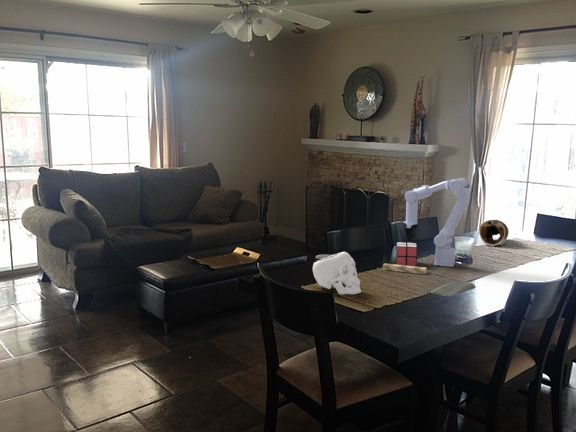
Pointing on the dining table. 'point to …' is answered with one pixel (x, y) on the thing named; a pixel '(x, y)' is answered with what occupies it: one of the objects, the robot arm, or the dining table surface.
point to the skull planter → (337, 273)
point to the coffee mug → (321, 257)
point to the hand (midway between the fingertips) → (410, 239)
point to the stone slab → (453, 288)
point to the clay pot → (493, 232)
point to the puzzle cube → (406, 254)
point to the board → (404, 268)
